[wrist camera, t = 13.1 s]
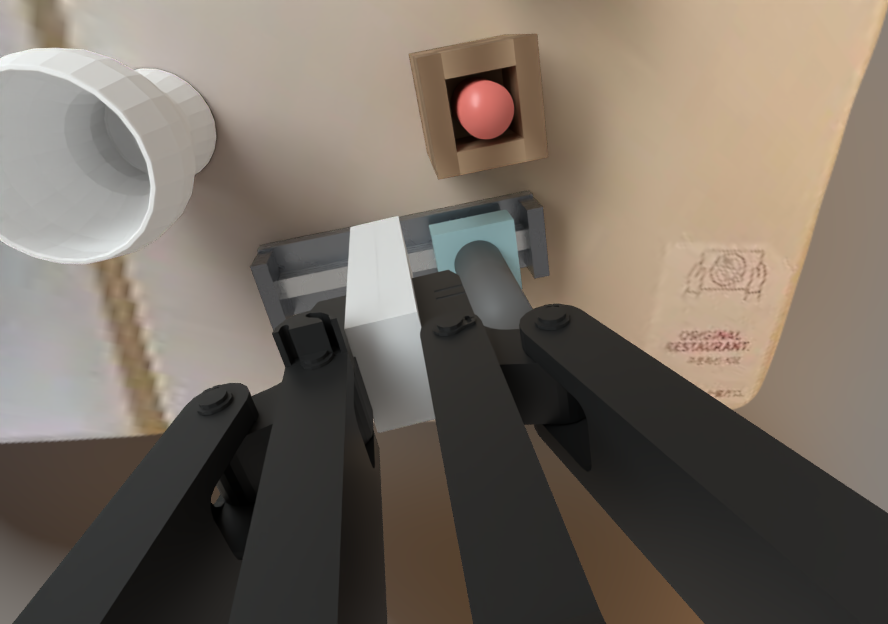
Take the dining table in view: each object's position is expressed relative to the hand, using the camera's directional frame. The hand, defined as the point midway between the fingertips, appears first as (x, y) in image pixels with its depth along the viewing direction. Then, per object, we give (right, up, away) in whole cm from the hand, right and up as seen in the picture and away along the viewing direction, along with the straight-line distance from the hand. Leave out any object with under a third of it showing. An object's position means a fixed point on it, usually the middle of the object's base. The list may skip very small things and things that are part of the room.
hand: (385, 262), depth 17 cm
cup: (-19, +12, +23) cm, 32 cm away
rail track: (-2, +3, +29) cm, 29 cm away
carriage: (+4, +4, +27) cm, 27 cm away
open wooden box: (+3, +14, +24) cm, 28 cm away
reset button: (+4, +12, +19) cm, 23 cm away
